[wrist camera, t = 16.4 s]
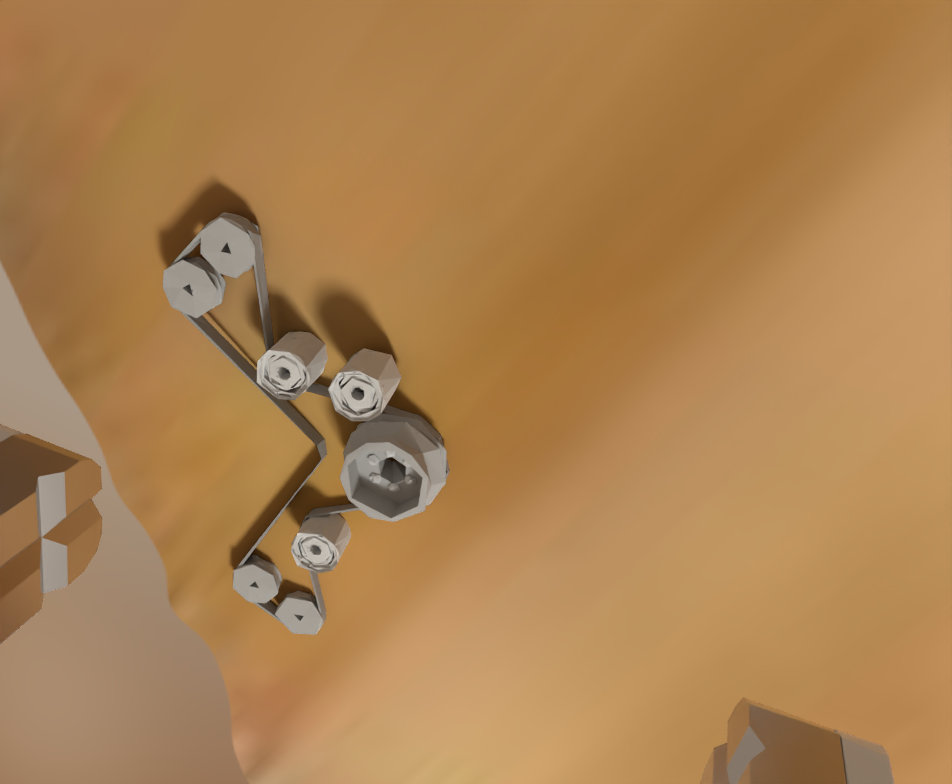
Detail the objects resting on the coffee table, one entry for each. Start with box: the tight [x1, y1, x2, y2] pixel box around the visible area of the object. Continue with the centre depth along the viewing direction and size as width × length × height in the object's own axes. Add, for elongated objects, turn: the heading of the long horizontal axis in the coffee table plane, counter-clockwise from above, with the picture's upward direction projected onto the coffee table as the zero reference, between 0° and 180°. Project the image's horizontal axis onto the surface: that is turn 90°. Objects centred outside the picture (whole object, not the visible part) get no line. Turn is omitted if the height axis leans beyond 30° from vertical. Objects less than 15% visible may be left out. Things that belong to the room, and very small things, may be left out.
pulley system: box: [163, 212, 450, 635], centre depth 47 cm, size 27×5×15 cm
